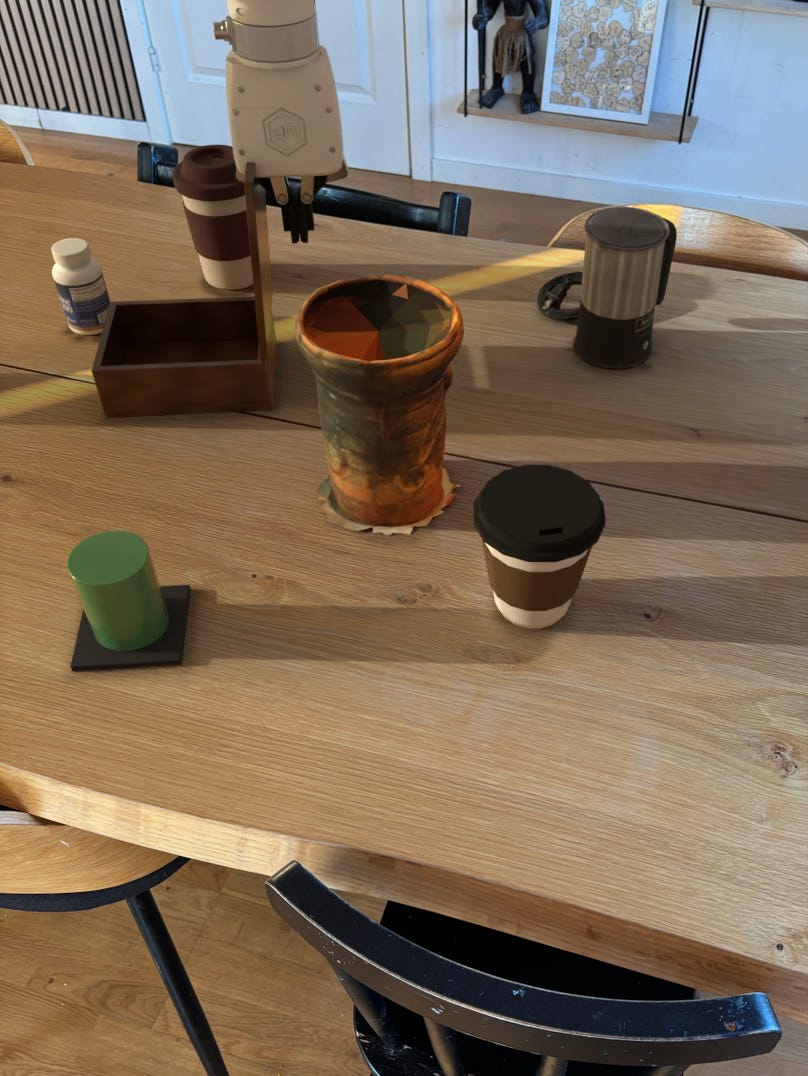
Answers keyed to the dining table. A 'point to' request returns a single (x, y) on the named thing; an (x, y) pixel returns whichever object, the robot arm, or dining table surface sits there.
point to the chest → (183, 358)
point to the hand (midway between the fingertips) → (300, 236)
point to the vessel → (382, 397)
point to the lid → (259, 255)
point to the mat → (156, 654)
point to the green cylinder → (119, 590)
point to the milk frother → (616, 286)
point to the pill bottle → (80, 286)
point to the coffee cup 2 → (537, 539)
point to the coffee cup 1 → (216, 215)
